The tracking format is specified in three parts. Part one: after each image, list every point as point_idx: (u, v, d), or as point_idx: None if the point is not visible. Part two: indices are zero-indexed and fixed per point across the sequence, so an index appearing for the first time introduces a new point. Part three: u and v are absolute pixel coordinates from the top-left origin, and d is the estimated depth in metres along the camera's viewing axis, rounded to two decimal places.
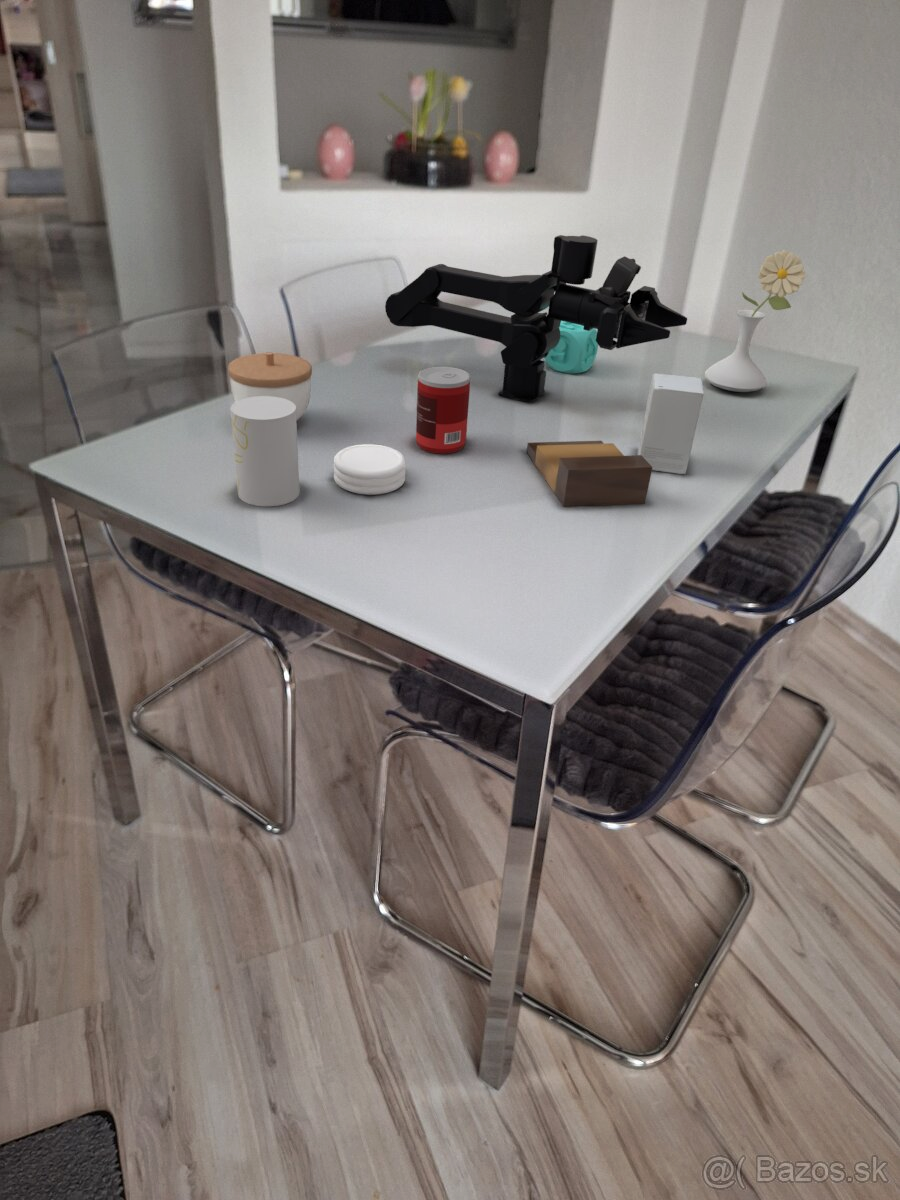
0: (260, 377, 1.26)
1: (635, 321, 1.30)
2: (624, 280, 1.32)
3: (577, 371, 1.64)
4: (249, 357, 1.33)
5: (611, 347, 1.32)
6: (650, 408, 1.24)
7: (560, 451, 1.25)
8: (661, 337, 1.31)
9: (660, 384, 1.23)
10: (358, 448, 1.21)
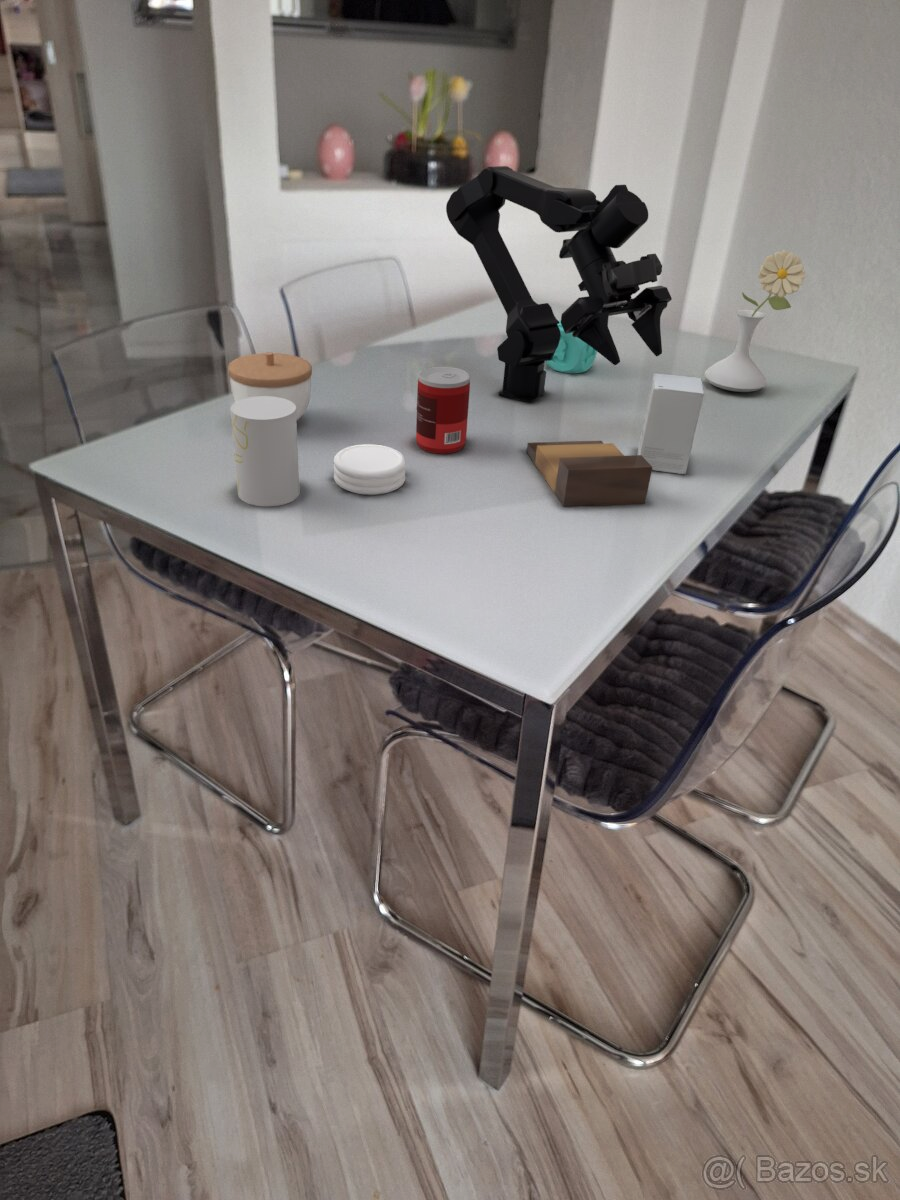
0: (260, 377, 1.26)
1: (600, 329, 1.25)
2: (627, 283, 1.24)
3: (577, 371, 1.64)
4: (249, 357, 1.33)
5: (566, 332, 1.27)
6: (650, 408, 1.24)
7: (560, 451, 1.25)
8: (610, 360, 1.27)
9: (660, 384, 1.23)
10: (358, 448, 1.21)
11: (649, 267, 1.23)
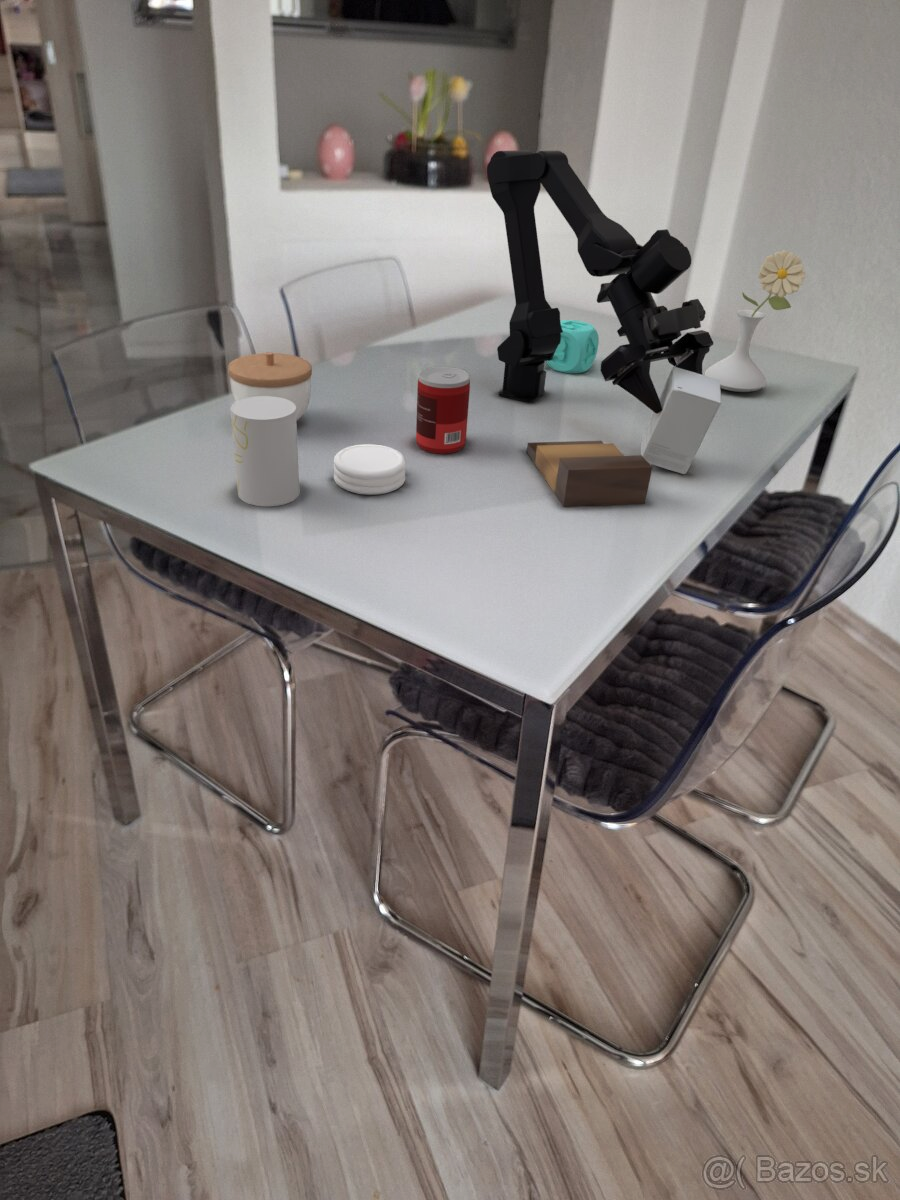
0: (259, 377, 1.26)
1: (641, 377, 1.21)
2: (670, 330, 1.20)
3: (577, 371, 1.64)
4: (249, 357, 1.33)
5: (606, 379, 1.23)
6: (665, 407, 1.21)
7: (560, 451, 1.25)
8: (651, 408, 1.23)
9: (679, 384, 1.21)
10: (358, 448, 1.21)
11: (692, 313, 1.19)
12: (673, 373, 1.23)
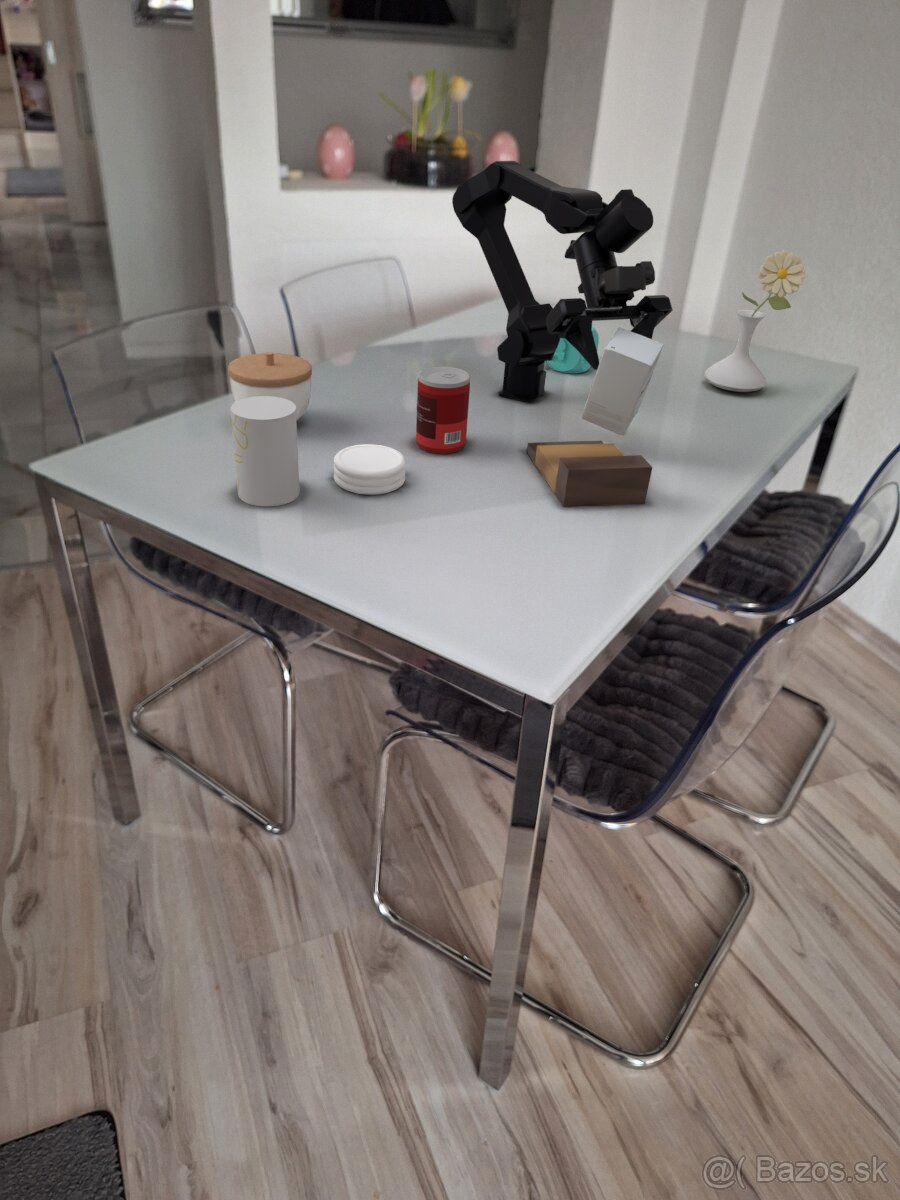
0: (259, 377, 1.26)
1: (582, 332, 1.25)
2: (612, 289, 1.22)
3: (577, 371, 1.64)
4: (249, 357, 1.33)
5: (550, 332, 1.28)
6: (599, 366, 1.24)
7: (560, 451, 1.25)
8: (591, 364, 1.26)
9: (614, 344, 1.22)
10: (358, 448, 1.21)
11: (636, 274, 1.21)
12: (615, 333, 1.25)
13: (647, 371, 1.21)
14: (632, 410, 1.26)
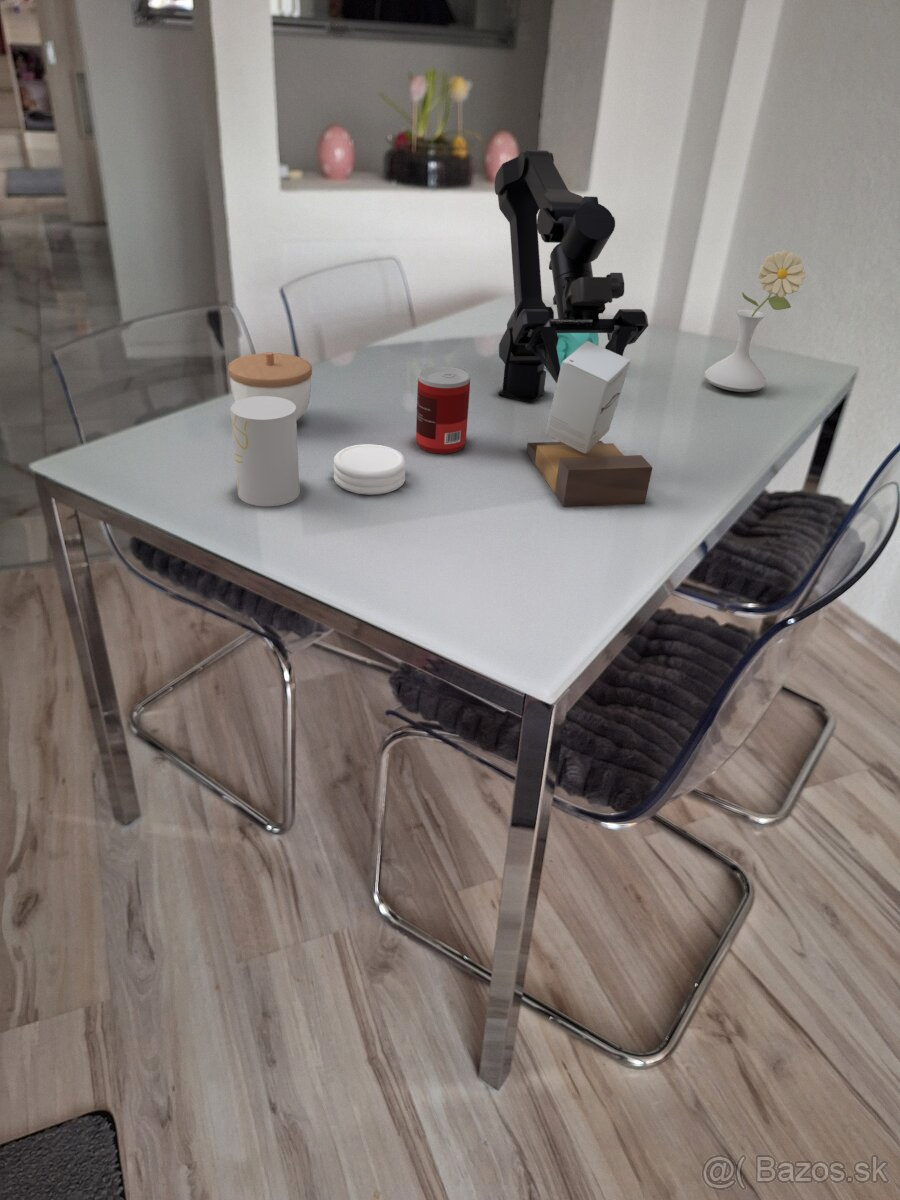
0: (259, 377, 1.26)
1: (545, 344, 1.20)
2: (576, 300, 1.17)
3: None
4: (249, 357, 1.33)
5: (516, 343, 1.23)
6: (558, 380, 1.19)
7: (560, 451, 1.25)
8: (553, 377, 1.21)
9: (574, 358, 1.17)
10: (358, 448, 1.21)
11: (601, 285, 1.15)
12: (579, 347, 1.19)
13: (604, 387, 1.15)
14: (593, 427, 1.20)
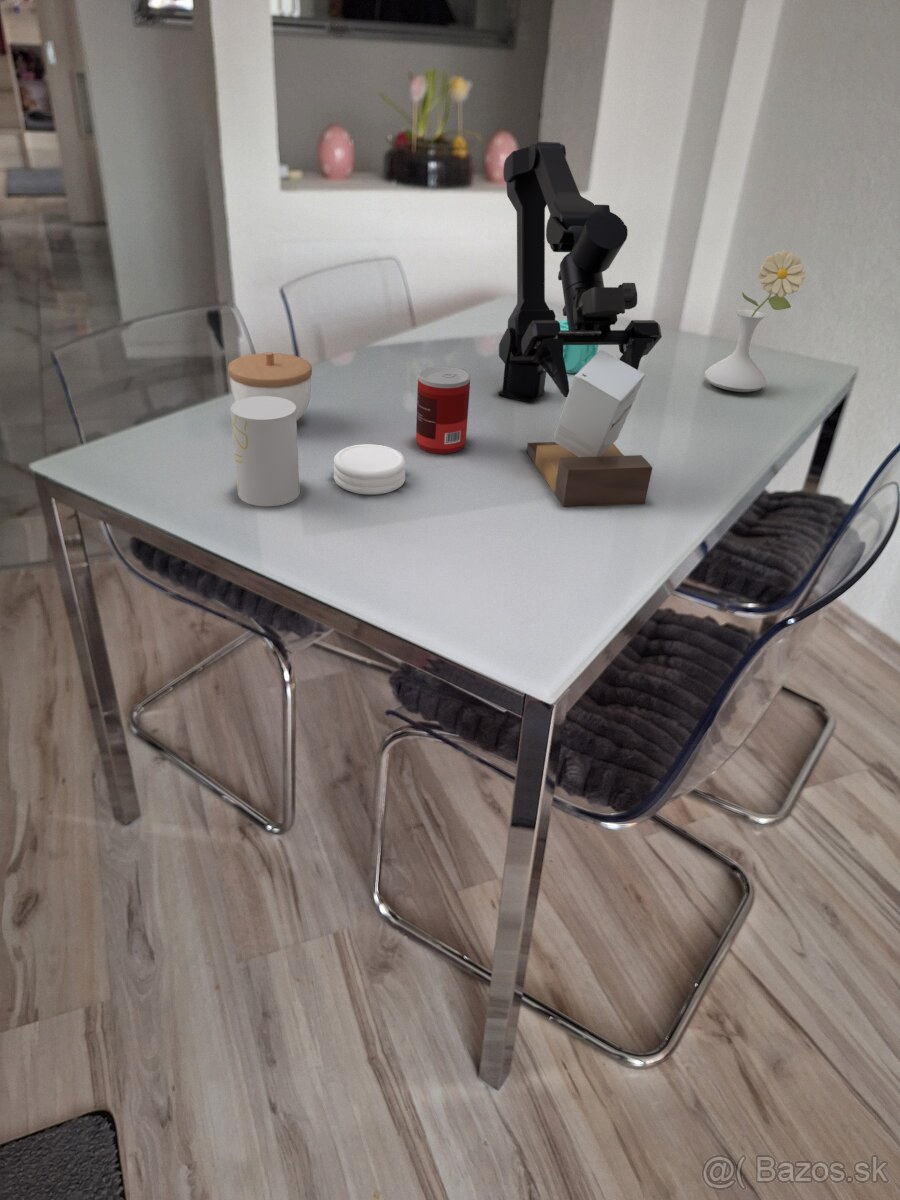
0: (259, 377, 1.26)
1: (552, 357, 1.16)
2: (587, 311, 1.13)
3: (577, 371, 1.64)
4: (249, 357, 1.33)
5: (525, 355, 1.20)
6: (569, 392, 1.15)
7: (560, 451, 1.25)
8: (561, 391, 1.17)
9: (587, 371, 1.13)
10: (358, 448, 1.21)
11: (613, 296, 1.12)
12: (593, 357, 1.15)
13: (616, 406, 1.12)
14: (602, 442, 1.17)
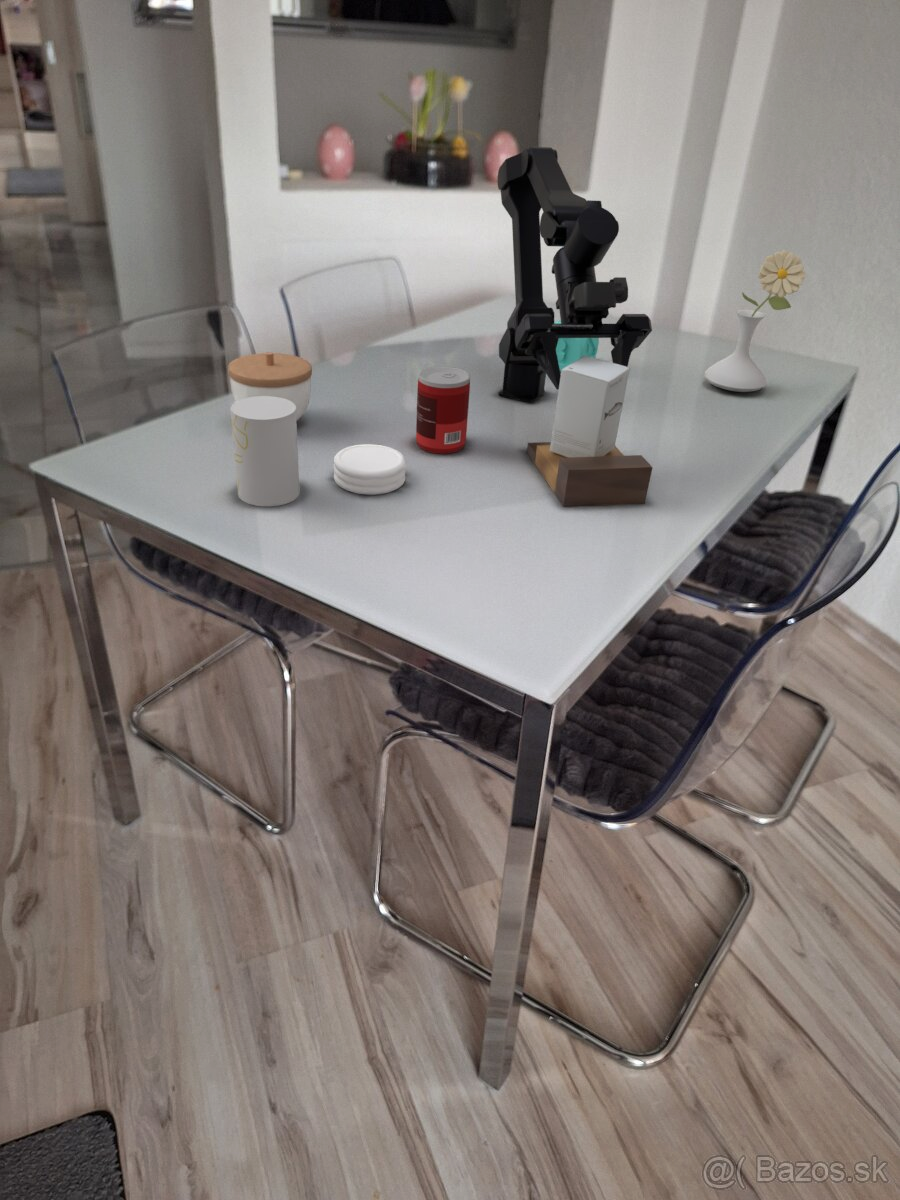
0: (259, 377, 1.26)
1: (544, 349, 1.19)
2: (579, 305, 1.16)
3: None
4: (249, 357, 1.33)
5: (519, 348, 1.22)
6: (559, 389, 1.19)
7: None
8: (553, 383, 1.20)
9: (573, 366, 1.18)
10: (358, 448, 1.21)
11: (604, 290, 1.14)
12: (578, 359, 1.20)
13: (606, 388, 1.15)
14: (597, 435, 1.19)
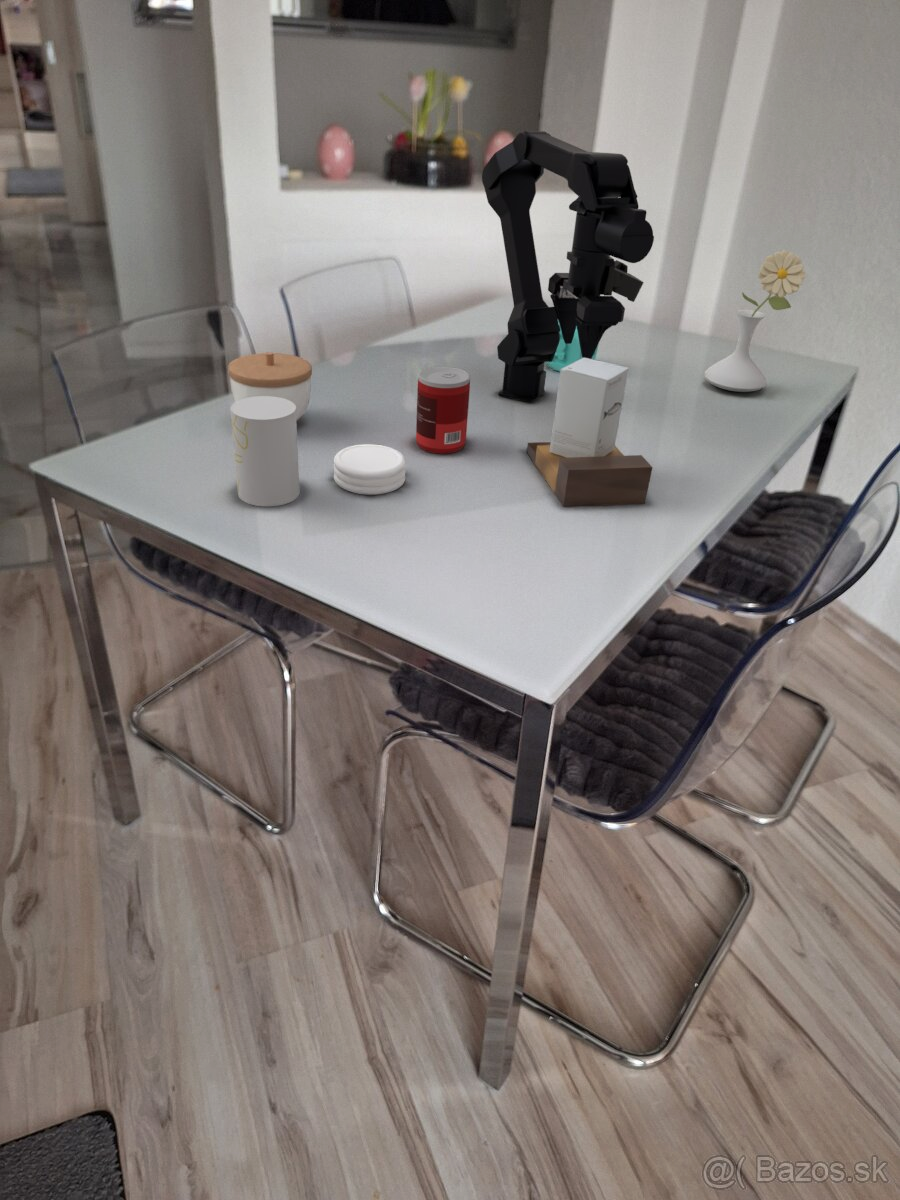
0: (259, 377, 1.26)
1: (603, 331, 1.28)
2: (627, 296, 1.30)
3: None
4: (249, 357, 1.33)
5: None
6: (558, 390, 1.19)
7: None
8: (584, 356, 1.31)
9: (573, 366, 1.18)
10: (358, 448, 1.21)
11: None
12: (577, 361, 1.21)
13: (605, 387, 1.15)
14: (597, 434, 1.19)
